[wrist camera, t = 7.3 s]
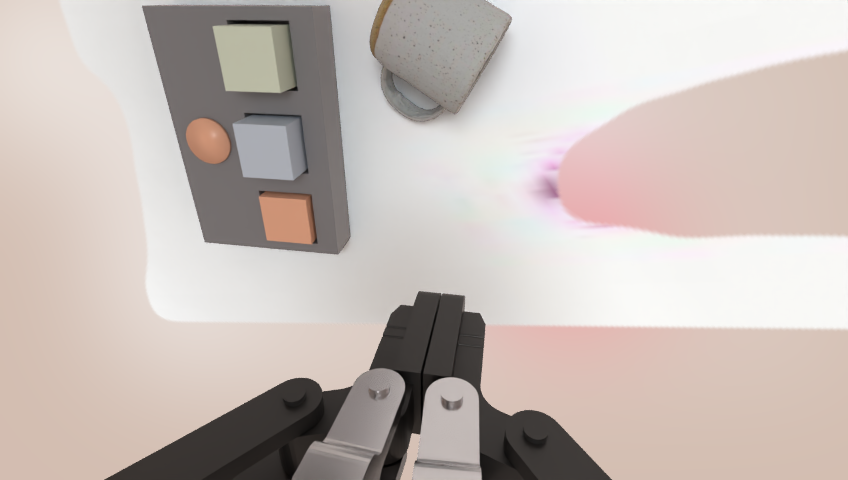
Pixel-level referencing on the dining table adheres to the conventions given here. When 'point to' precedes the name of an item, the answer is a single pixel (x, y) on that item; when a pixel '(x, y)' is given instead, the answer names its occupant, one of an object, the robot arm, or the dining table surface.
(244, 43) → the sage key
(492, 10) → the ceramic mug
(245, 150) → the blue key
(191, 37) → the key panel
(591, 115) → the dining table surface
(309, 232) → the terracotta key
